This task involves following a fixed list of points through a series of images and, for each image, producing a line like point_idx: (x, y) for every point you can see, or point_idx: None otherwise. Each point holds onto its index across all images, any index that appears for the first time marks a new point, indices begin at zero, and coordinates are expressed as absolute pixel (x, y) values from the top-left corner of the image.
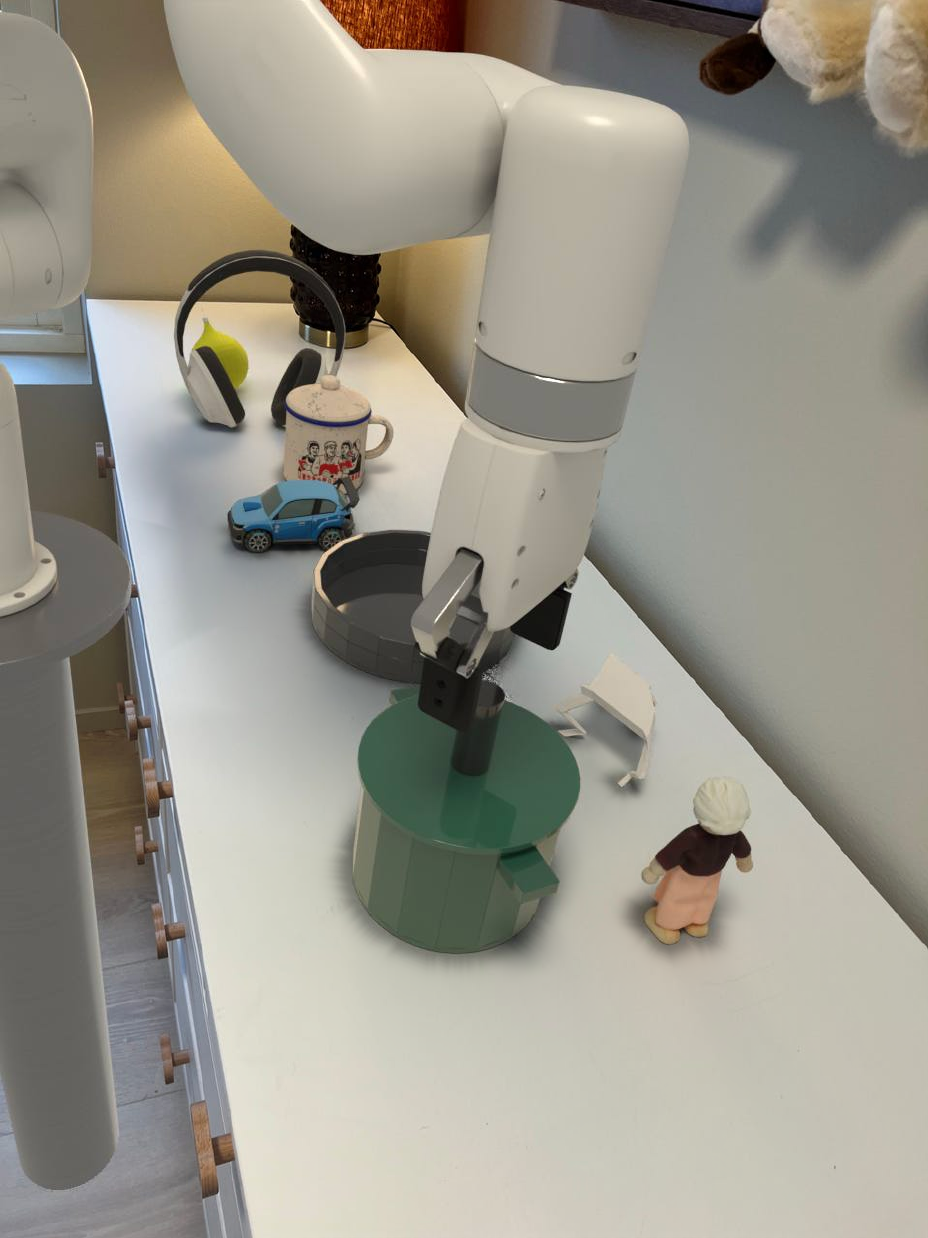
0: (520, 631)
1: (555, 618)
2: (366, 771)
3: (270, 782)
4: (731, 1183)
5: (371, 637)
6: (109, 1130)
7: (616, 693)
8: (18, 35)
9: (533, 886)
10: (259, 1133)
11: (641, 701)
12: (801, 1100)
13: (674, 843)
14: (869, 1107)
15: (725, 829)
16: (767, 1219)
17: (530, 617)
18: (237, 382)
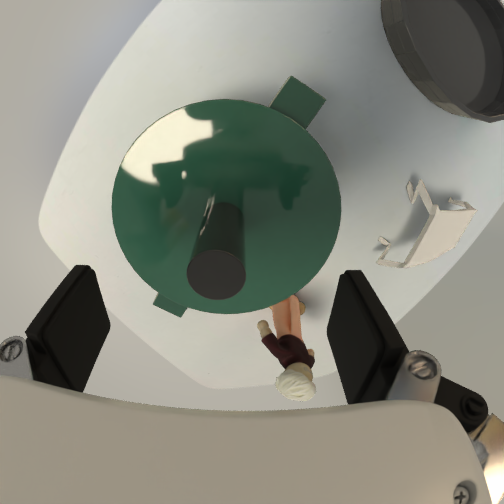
0: (339, 294)
1: (340, 371)
2: (137, 149)
3: (218, 23)
4: (174, 352)
5: (400, 13)
6: None
7: (438, 232)
8: None
9: (162, 307)
10: (48, 203)
11: (436, 250)
12: (226, 363)
13: (273, 350)
14: (241, 377)
15: (277, 389)
16: (172, 362)
17: (347, 325)
18: None
